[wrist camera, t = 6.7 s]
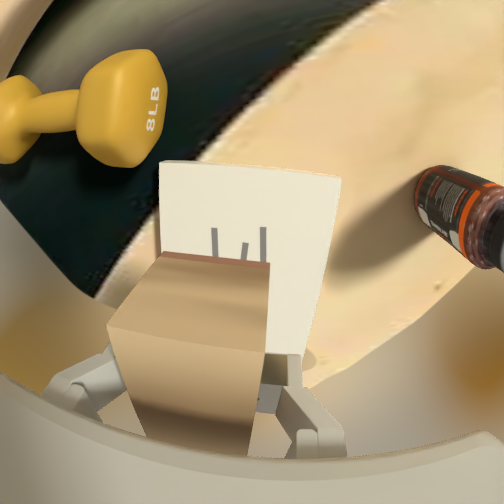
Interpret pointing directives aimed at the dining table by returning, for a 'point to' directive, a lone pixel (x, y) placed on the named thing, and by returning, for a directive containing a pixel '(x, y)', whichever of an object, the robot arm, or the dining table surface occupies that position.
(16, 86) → the dumbbell
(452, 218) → the supplement bottle
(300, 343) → the board
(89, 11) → the dining table surface
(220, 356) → the block
